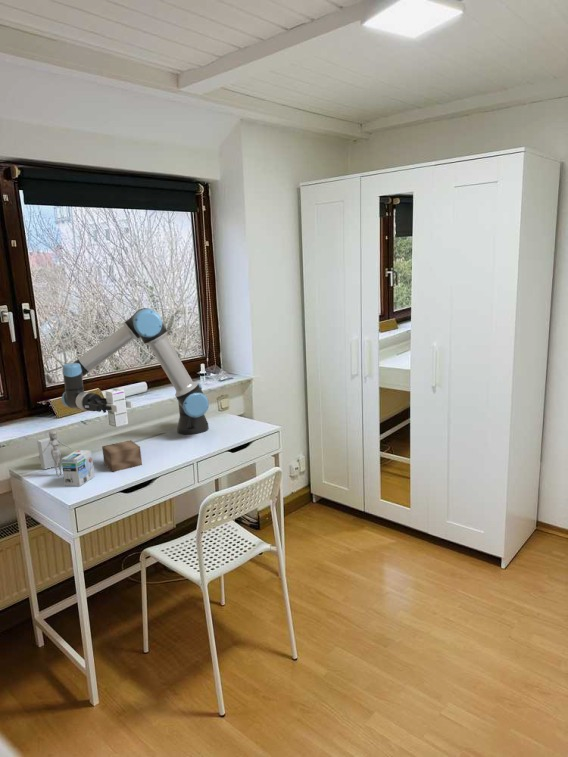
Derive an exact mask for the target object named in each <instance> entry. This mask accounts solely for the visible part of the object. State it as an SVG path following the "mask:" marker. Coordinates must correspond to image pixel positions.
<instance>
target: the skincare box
mask: <svg viewBox="0 0 568 757" xmlns="http://www.w3.org/2000/svg"><path fill="white" fill-rule="evenodd" d="M49 441H50V436H49V437H46V438H42V439H39V440H37V441H36V443H37V450H38V455H39V460H40V466H41V469H42V470H44V469H46V468H50V469H52V468H51V467H54V468H55V466H54V464H55V462H54V460H53V458H52V455H51V450H52V449H53V446H52V445H51V444H50V445H49V446H48V448H47V449H46V450H45V452H44V453H43V451H44V449H45V448H46V447H47V445H48V444H49ZM41 453H43V455H41ZM40 455H41V457H40ZM56 463H57V467H59V466H58V462H56Z"/></svg>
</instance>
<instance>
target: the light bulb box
mask: <svg viewBox="0 0 568 757" xmlns="http://www.w3.org/2000/svg"><path fill="white" fill-rule="evenodd" d="M60 462H61V469H62V474H63V480H64V486H65V487H66V486H67V487H81V486H82V485H84V484H86V483H87V482H89V481H90V480H92V479H93V478H94V477H96V476H95V470H94V463H93V462H94V460H93V454H92V450H87V449H86V450H81V449H76V450H74V451H73V452H71V453H69V454H68V455H65V456H64V457H61V459H60Z"/></svg>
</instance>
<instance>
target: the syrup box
mask: <svg viewBox="0 0 568 757" xmlns="http://www.w3.org/2000/svg"><path fill="white" fill-rule="evenodd" d="M105 398H106V401H107V404H113V405H118V411H119V412H112V411H107V416H108V417H107V418H108V423H109V425H110V426H112V427H114V428H115V427H116V428H117V427H119V428H120V427H122V426H126V425H129V419H128V411H127V408H126V401H127V400H126V401H125V399H126V394H125V389H122V388H111V389H108V390H105Z"/></svg>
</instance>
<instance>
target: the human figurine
mask: <svg viewBox="0 0 568 757" xmlns="http://www.w3.org/2000/svg"><path fill="white" fill-rule="evenodd" d="M48 435H49V437H50V441H49V444H48V445H47V447H46V448H45V449H44V451H43V453H44V452H45V450H46V449H47V448H48V446H49V445H50V444H51V445H52V446H53V449H52V450H51V455H52V458H53V460H54V462H55V464H54V466H55V467H54V471H55V475H57V476H59V477H60V476H61V475H63V471H62V461H61V459H62V453H61V449H60V447H59V445H60V444H61V445H62V446H64V447H67V449H70V450H71V449H72V448H71V447H70V446H68V445H66V444H65V443H64V442H62V441H61V440H60V439H59V438H58V436H57V431H56V430H51V431H49V432H48ZM43 453H41V455H43ZM41 455H40V456H39V458H40V457H41ZM56 462H58V466H57V463H56ZM58 470H59V473H58ZM57 476H56V477H57ZM63 476H64V475H63Z"/></svg>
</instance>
